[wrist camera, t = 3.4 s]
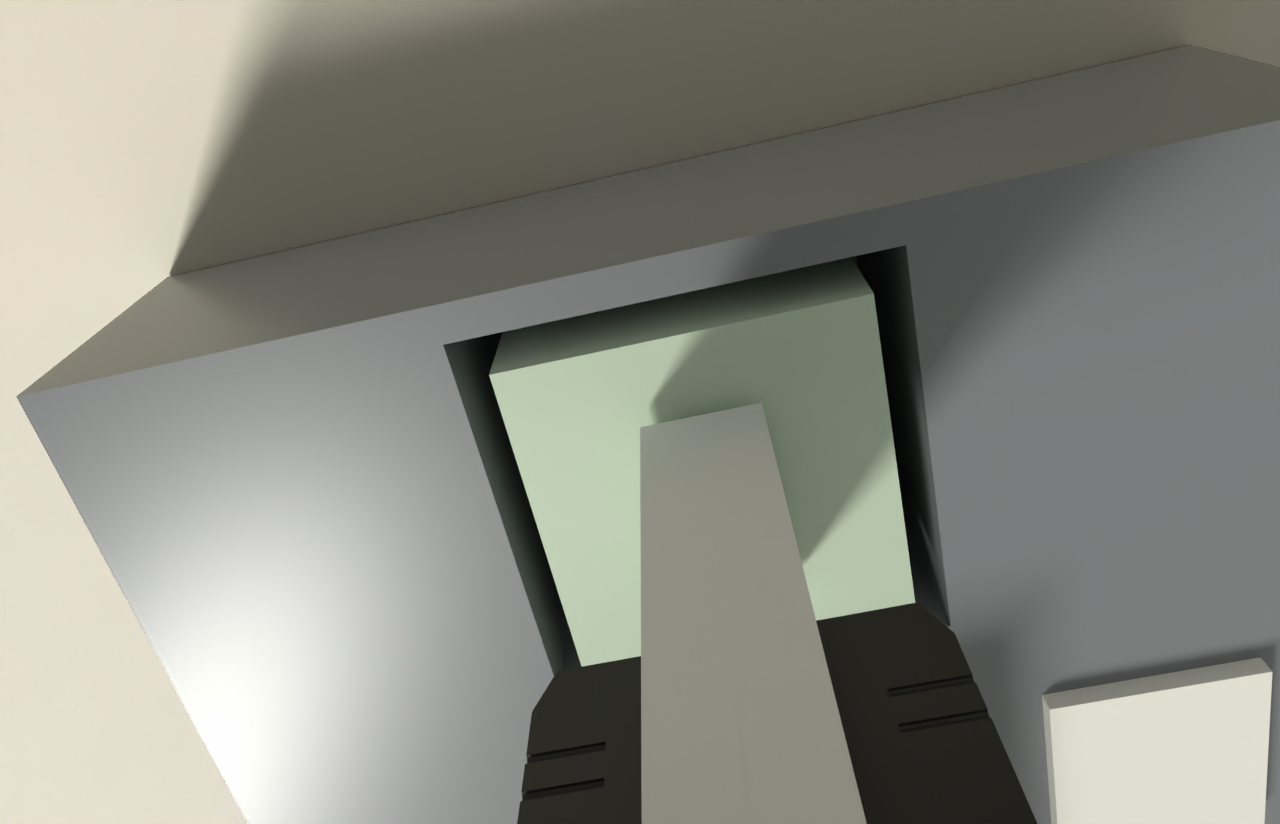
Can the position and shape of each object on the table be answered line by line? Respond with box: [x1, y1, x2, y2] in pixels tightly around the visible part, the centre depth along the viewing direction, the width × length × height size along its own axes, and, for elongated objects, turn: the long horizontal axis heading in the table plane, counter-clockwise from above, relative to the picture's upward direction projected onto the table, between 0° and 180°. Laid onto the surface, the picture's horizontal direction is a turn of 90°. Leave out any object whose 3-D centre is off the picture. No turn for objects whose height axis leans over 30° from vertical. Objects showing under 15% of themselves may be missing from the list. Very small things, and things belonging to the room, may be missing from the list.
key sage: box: [489, 257, 915, 667], centre depth 14 cm, size 5×5×2 cm
